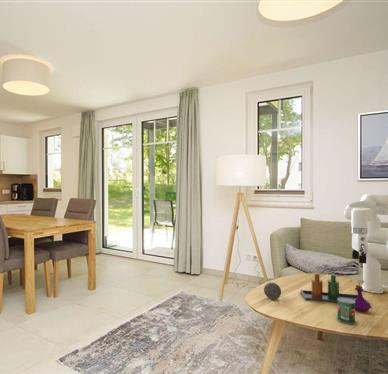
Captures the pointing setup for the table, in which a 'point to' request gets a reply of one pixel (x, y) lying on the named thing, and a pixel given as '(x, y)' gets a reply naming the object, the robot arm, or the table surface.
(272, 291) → the decorative ball
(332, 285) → the green bottle
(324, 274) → the table surface
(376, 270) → the robot arm
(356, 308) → the perfume bottle
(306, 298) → the tray
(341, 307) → the canned tomato
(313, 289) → the amber bottle
